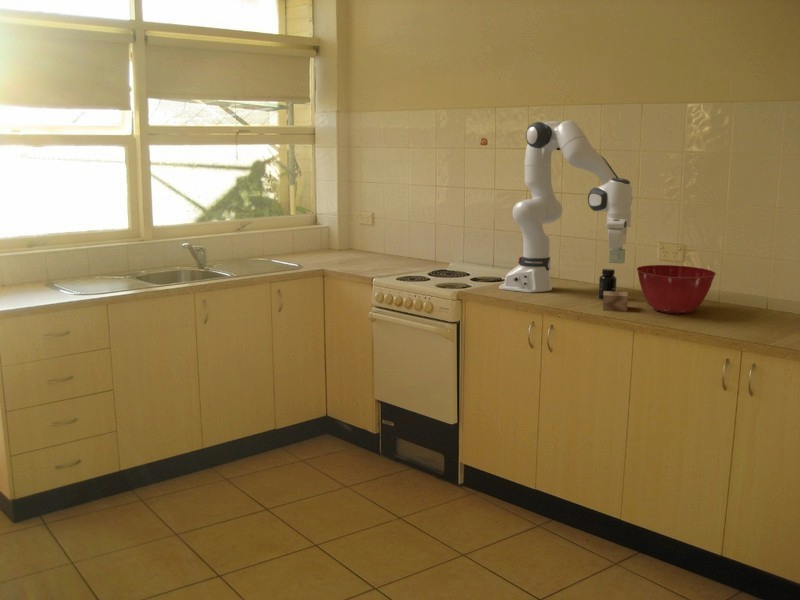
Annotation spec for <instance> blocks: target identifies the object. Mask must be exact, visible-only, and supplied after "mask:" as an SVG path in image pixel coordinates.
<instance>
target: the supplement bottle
mask: <svg viewBox="0 0 800 600" xmlns="http://www.w3.org/2000/svg"><path fill="white" fill-rule="evenodd" d="M615 272H616V271H615V269H614V268H602V272H601V274H602V275H600V276H599V278H598V294H597V296H598V298H599V299H600V300H603V292H604V291H615V292H617V276H615Z"/></svg>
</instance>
